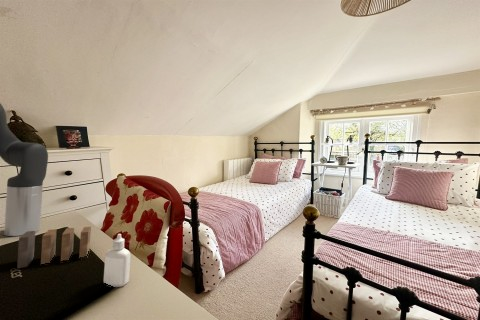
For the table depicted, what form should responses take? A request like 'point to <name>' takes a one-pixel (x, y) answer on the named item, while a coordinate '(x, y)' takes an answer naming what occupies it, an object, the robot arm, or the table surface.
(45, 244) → the domino
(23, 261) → the loose domino
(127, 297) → the table surface
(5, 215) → the robot arm
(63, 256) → the domino
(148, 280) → the table surface
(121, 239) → the eye dropper bottle
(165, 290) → the table surface
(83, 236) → the domino
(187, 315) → the table surface
